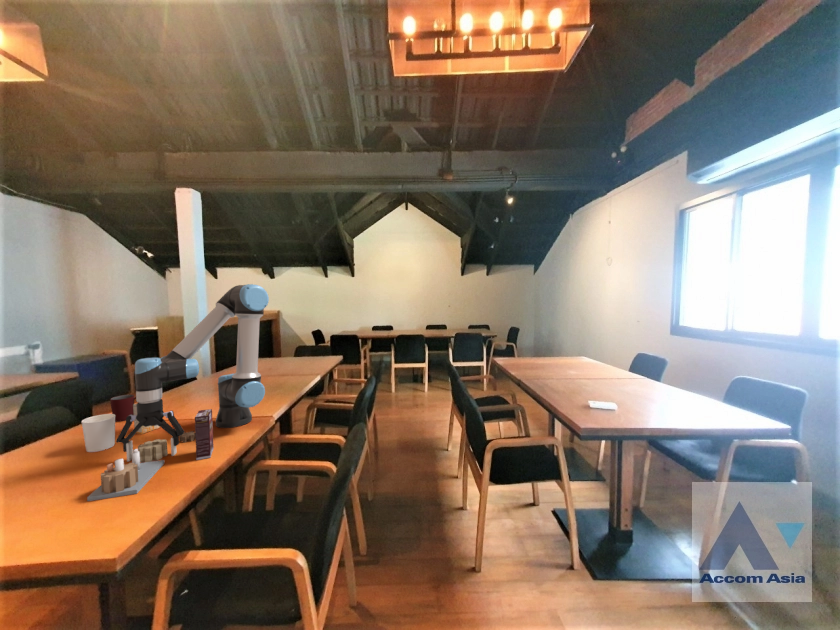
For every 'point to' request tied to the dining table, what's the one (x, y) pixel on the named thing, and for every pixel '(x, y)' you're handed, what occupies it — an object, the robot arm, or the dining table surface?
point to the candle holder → (99, 432)
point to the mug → (122, 406)
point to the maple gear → (153, 450)
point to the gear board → (136, 488)
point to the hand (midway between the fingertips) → (152, 457)
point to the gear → (187, 437)
